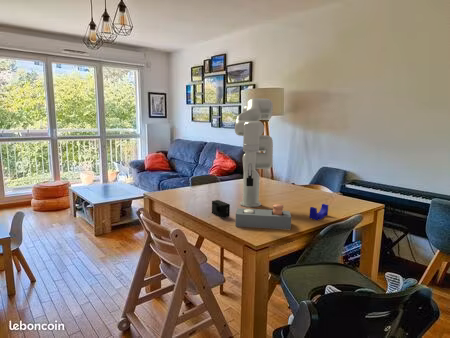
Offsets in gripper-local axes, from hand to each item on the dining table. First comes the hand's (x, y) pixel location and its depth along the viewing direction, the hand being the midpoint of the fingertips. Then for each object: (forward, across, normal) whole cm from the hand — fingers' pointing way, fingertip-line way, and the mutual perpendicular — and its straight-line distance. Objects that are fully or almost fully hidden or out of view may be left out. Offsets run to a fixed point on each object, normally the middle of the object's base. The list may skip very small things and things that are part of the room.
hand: (249, 185), depth 147 cm
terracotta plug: (+15, +1, +14) cm, 20 cm away
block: (+19, +1, +7) cm, 20 cm away
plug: (+18, +1, 0) cm, 18 cm away
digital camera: (+19, -10, -16) cm, 27 cm away
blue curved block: (+20, -16, +38) cm, 45 cm away
